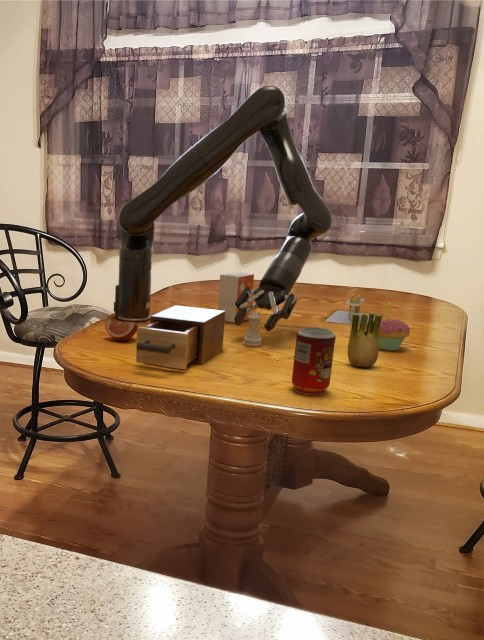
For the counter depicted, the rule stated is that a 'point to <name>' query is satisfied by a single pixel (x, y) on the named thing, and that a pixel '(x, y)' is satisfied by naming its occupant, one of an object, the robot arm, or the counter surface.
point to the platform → (347, 316)
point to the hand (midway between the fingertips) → (251, 326)
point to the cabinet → (209, 327)
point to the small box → (233, 292)
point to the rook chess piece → (253, 331)
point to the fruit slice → (121, 329)
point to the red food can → (313, 360)
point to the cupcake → (392, 332)
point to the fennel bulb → (364, 340)
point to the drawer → (168, 344)
